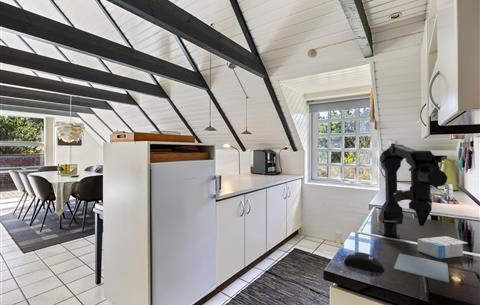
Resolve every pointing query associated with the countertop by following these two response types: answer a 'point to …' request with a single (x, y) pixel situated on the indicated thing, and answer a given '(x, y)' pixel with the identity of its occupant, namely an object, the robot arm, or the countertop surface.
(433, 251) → the ink box
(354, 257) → the computer mouse
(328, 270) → the countertop surface
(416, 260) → the mat
